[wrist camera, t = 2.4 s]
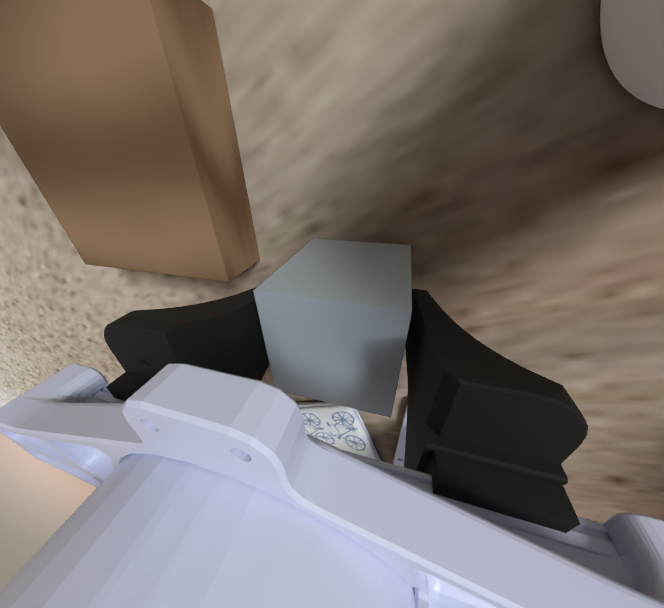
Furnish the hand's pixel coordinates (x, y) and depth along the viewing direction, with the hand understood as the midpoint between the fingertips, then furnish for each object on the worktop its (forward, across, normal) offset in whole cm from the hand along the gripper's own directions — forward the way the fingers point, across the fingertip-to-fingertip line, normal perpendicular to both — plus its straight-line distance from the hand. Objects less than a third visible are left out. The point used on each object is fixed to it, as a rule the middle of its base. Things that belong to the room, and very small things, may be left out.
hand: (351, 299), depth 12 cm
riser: (+2, +11, -6) cm, 13 cm away
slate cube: (+2, 0, 0) cm, 2 cm away
